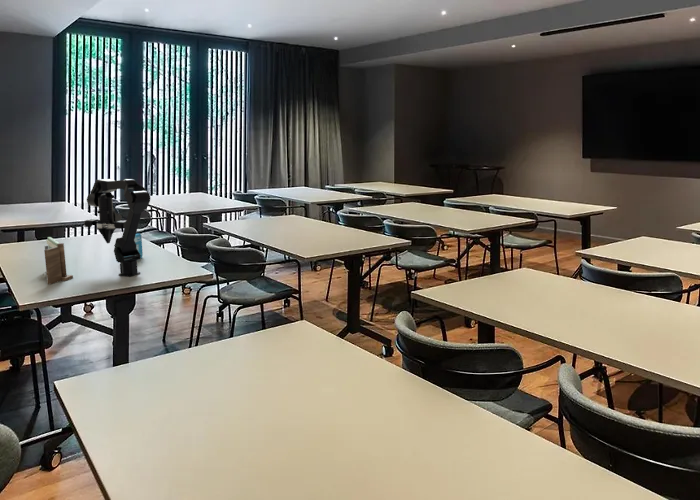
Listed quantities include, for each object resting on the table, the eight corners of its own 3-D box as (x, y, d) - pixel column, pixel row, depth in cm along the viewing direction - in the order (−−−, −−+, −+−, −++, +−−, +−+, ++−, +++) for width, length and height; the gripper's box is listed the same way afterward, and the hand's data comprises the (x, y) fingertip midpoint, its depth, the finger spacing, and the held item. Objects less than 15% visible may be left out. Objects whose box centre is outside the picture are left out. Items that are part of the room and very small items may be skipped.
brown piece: (73, 278, 239) (69, 242, 236) (54, 284, 228) (50, 247, 226) (62, 277, 240) (59, 242, 237) (43, 284, 229) (39, 247, 226)
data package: (132, 262, 270) (130, 237, 267) (122, 262, 270) (121, 237, 268) (143, 257, 282) (141, 233, 279) (134, 257, 282) (132, 233, 279)
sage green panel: (53, 265, 255) (50, 236, 253) (64, 274, 239) (61, 244, 236) (45, 266, 253) (42, 237, 251) (56, 275, 237) (53, 244, 234)
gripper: (135, 206, 255) (137, 240, 258) (97, 204, 258) (99, 238, 261) (121, 209, 244) (123, 245, 247) (82, 208, 247) (84, 243, 251)
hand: (108, 243), depth 252 cm, fingers closed
